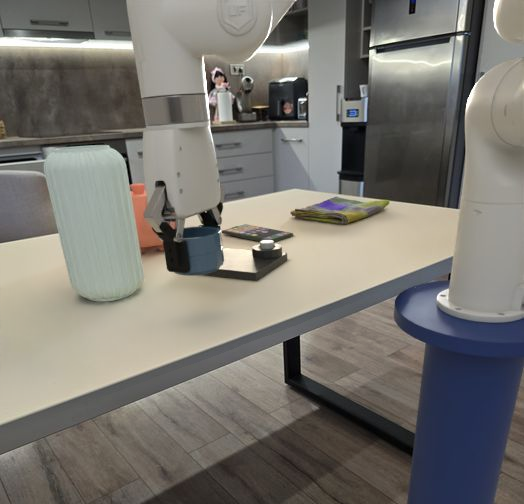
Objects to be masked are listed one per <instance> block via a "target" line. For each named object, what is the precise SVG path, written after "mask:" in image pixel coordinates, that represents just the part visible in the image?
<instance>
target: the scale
mask: <svg viewBox="0 0 524 504" xmlns="http://www.w3.org/2000/svg"><path fill="white" fill-rule="evenodd" d="M223 255H224V263H223V265H222V266H221V267H220V268H219V269H218V270H216V271H214V272H211V273H207V274H203V275H202V276H210V277H211V276H212V277H218V278H219V277H220V278H221V277H222V278H229V279H238V280H247V281H255V282H256V281H258V280H260V279H261V278H263V277H264V276H265V275H267V274H269V273H270V272H272V271H274V270H275V269H276V268H278V267H280V266H281V265H282V264H284V263H286V262H287V261H288V252H283V246H282V245H281V244H279V243H275V242H274V248H271V249H260V243H257V244H255V245H253V246H251V249H245V248H244V249H242V248H231V247H223Z"/></svg>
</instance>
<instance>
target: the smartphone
mask: <svg viewBox="0 0 524 504" xmlns="http://www.w3.org/2000/svg"><path fill="white" fill-rule="evenodd" d="M221 234H223V235H227V236H233V237H238V238H242V239H246V240H247V239H248V240H251V241H257V242H260V241H262V240H272V241H274V243H275V242H279V241H281V240H284V239H288V238H291V237H294V232H289V231H284V230H278V229H275V228H274V229H273V228H269V227H263V226H257V225H252V224H247V223H244V224H241V225H237V226H236V225H235V226H233V227H230V228H226V229H221Z"/></svg>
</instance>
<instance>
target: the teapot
mask: <svg viewBox="0 0 524 504" xmlns="http://www.w3.org/2000/svg"><path fill="white" fill-rule="evenodd" d="M129 186H130V192H131V198H132V204H133V210H134V216H135V223H136V229H137V235H138V241H139V247H140V253H141V255H143V248H151V247H156V246H157V248H158V249H159V251H161V252H164V247H163V241H160V240H159V238H158V235H157V234H156V233H155V232H154V231H153V230H152V227H151V226H150V225H149V223H148V222H147V221H146V220H145V218H144V216H143V214H144V211H145V209H146V207H147V205H148V202H147V195H146V187H145V183H144V182H143V183H141V182H140V183H139V182H138V183H131V184H129ZM174 214H175V213H174ZM170 226H171V227H172V228H173V229H174V227H175V222H170Z"/></svg>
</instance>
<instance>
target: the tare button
mask: <svg viewBox="0 0 524 504" xmlns="http://www.w3.org/2000/svg"><path fill="white" fill-rule="evenodd" d="M274 243H275V242H274V241H272V240H262V241H259V244H260V249H271V248H274Z"/></svg>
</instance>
